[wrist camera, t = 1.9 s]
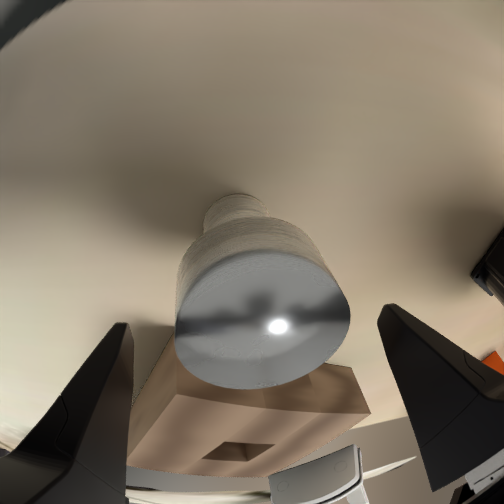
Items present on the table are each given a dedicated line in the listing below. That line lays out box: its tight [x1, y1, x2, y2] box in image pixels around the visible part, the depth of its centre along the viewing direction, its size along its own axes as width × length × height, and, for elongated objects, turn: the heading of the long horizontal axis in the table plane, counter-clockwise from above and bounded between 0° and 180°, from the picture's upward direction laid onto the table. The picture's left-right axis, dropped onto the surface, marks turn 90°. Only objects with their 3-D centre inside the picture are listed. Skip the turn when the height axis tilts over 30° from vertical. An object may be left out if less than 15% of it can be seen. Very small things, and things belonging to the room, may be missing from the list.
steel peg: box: [174, 194, 350, 389], centre depth 12 cm, size 6×6×8 cm
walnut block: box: [126, 331, 371, 477], centre depth 23 cm, size 16×16×5 cm
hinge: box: [268, 444, 363, 504], centre depth 39 cm, size 17×5×10 cm, turn 123°
